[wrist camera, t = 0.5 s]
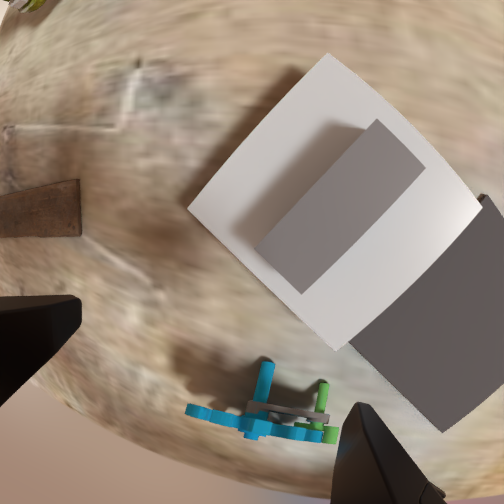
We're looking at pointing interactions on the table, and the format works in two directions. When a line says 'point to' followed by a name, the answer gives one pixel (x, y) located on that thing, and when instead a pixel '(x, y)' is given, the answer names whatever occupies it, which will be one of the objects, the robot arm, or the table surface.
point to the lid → (336, 202)
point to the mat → (447, 326)
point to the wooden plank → (42, 211)
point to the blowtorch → (26, 5)
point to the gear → (258, 411)
